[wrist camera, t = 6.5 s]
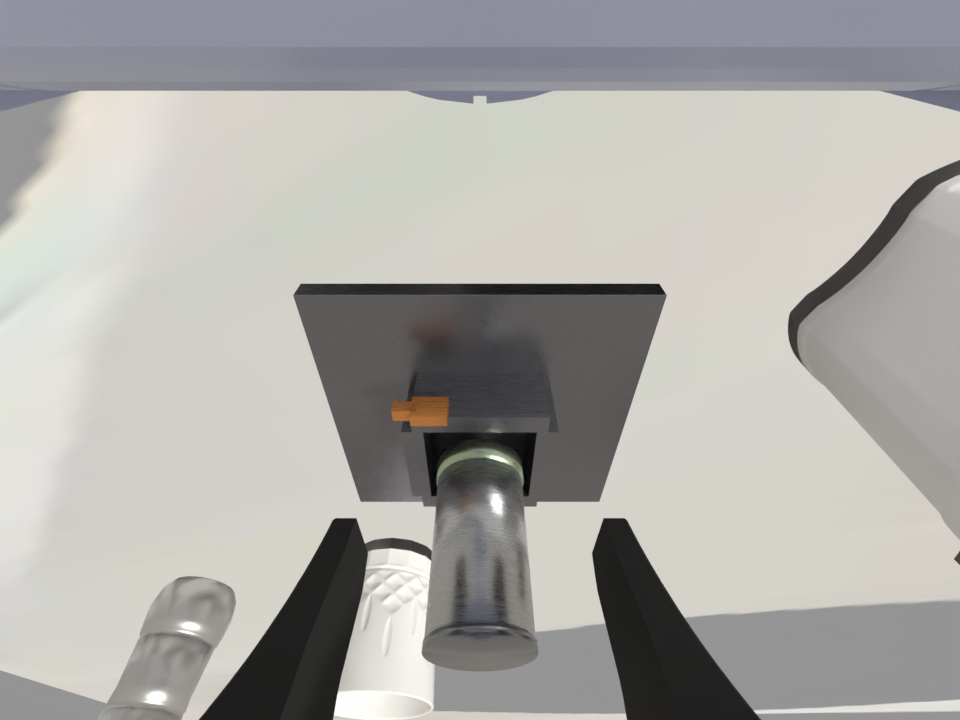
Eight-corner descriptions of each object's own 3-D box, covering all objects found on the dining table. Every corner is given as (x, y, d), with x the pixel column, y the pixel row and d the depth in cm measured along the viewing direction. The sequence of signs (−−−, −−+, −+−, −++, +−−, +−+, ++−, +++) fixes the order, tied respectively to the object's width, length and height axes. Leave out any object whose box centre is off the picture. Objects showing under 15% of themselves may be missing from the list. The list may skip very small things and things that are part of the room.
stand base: (300, 283, 19) (260, 345, 15) (659, 283, 19) (699, 345, 15) (363, 488, 29) (348, 553, 26) (596, 488, 29) (611, 553, 26)
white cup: (369, 580, 39) (342, 722, 31) (333, 538, 34) (289, 695, 26) (453, 572, 38) (446, 718, 30) (428, 528, 33) (413, 688, 25)
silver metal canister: (435, 437, 20) (415, 633, 14) (524, 437, 20) (544, 633, 14) (440, 488, 22) (425, 671, 16) (519, 488, 22) (534, 671, 16)
